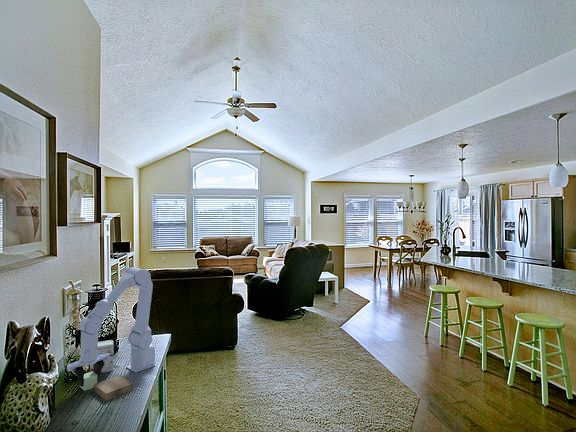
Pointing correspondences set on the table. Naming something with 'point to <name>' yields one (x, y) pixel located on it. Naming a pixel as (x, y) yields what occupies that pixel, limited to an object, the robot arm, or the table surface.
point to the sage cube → (89, 381)
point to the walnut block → (113, 387)
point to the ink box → (103, 349)
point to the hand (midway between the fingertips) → (88, 383)
